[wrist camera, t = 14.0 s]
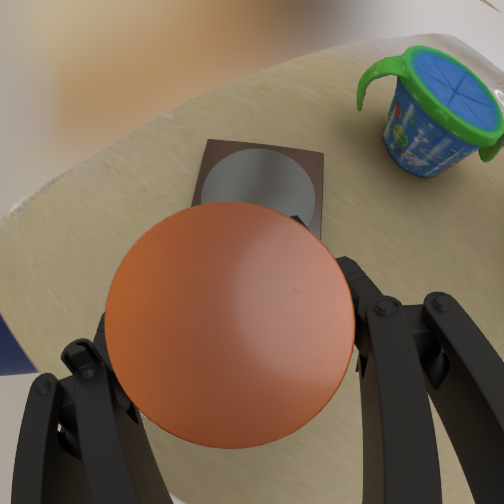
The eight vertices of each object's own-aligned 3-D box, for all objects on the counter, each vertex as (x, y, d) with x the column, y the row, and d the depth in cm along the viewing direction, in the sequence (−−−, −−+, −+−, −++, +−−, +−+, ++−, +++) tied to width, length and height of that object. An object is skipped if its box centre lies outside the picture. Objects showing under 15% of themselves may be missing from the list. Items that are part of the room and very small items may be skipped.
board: (165, 382, 19) (160, 385, 18) (209, 146, 25) (207, 137, 24) (299, 401, 19) (302, 405, 18) (320, 160, 25) (324, 152, 23)
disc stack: (187, 368, 18) (93, 416, 6) (201, 276, 20) (132, 190, 8) (281, 381, 18) (336, 456, 6) (293, 289, 20) (361, 218, 7)
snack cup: (334, 159, 25) (371, 77, 15) (349, 90, 27) (375, 19, 17) (469, 218, 23) (533, 175, 14) (464, 144, 26) (509, 95, 16)
